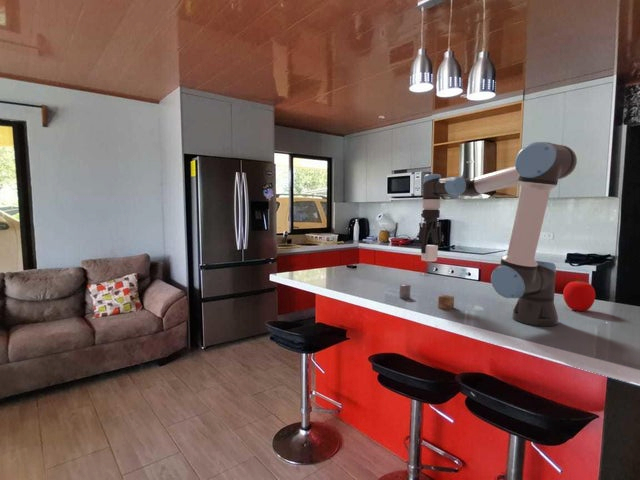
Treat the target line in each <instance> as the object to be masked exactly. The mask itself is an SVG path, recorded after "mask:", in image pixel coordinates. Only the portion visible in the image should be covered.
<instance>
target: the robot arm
mask: <svg viewBox="0 0 640 480" xmlns="http://www.w3.org/2000/svg"><path fill="white" fill-rule="evenodd" d="M577 164H578V159H577V155H576V153H575V152H574V150H573V149H571V148H570V147H568V146H567V145H563V144H557V143H552V142H547V141H534V142H531V143H529V144H526V145H525V146H524V147H522V148H521V149H520V151H519V152H518V153H517V154H516V157H515V161H514V165H513V166H509V167H506V168H503V169H499V170H496V171H492V172H489V173H484V174H482V175H478V176H475V177H472V178H470V177H469V178H463V177H461V176H452V177H442V175H441V174H439V173H432V174H431V173H427V174H425V175H424V176H423V182H422V212H421V213H422V215H421V217H422V218H423V222H418V226H419V230H418V241H417V244H418V246H419V247H421V249H420V251H421V255H420V256H421V257H420V258H421V259H420V260H421V261H423V262H428V261H427V256H428V246H427V245H428V241H429V237H430V234H431V240H432V245H437V246H438V247H439V246H441V244H442V225H443V224H442V221H440V222H439V221H438V219H439V218H440V217H441V216H440V214H441V213H440V211H441V210H440V208H441V196H454V197H455V196H457V197H460V196H461V197H471V198H472V197H479V196H480V195H482V194H485V193H489V192H493V191H497V190H501V189H506V188H510V187H515V186H520V187H521V189H520V193H519V198H518V202H517V207H516V211H515V216H514V221H513V226H512V229H511V236H510V240H509V244H508V249H507V253H506V254H505V255H503V256H501V259H500V263H499V265H498V266H497V267H495V268H494V270H493V271H492V273H491V275H490V283H491V286H492V287H493V288H494V291H495V292H496V293H497V294H498V295H499V296H501V297H503V298H505V299H517V301H516V303H515V305H514V308H513V310H512V317H511V318H512V319H513V320H514V321H517V322H519V323H521V324H526V325H530V326H539V327H555V326H557V325H559V316H558V312H557V309H556V305H555V303H554V302H555V289H556V277H557V276H556V274H557V269H556V268H557V266H556V264H555V263H554V262H548V261H541V260H536V259H535V256H536V252H537V248H538V243H539V241H540V236H541V231H542V227H543V223H544V219H545V215H546V210H547V206H548V203H549V199H550V194H551V191H552V189H554V188H556V187H557V186H558V182H559V180H562V179H564V178H566V177H568V176H570V175H571V174H572V173H573V172H574V170H575V169H576V166H577ZM438 251H439V249H438V250H437V254H438ZM437 260H438V258H437V259H436V261H437Z"/></svg>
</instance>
